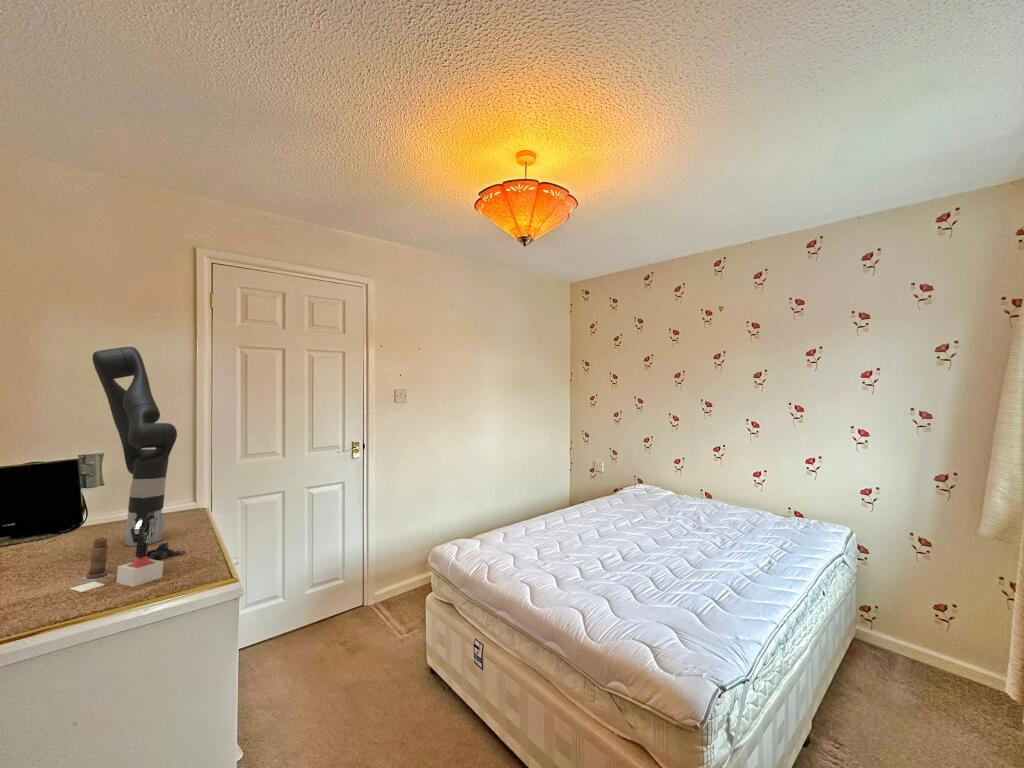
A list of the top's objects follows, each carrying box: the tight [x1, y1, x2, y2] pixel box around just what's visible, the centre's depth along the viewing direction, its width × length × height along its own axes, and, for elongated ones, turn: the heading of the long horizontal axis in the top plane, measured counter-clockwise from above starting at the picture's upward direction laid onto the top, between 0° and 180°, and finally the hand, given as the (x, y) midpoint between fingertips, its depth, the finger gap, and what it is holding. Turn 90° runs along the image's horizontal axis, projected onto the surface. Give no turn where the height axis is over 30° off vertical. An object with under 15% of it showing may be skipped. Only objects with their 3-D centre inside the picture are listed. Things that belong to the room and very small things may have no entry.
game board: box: [69, 572, 114, 593], centre depth 115 cm, size 14×20×1 cm
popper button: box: [131, 556, 151, 568], centre depth 117 cm, size 4×4×5 cm
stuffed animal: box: [146, 541, 187, 567], centre depth 133 cm, size 12×10×12 cm
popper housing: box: [116, 559, 164, 588], centre depth 117 cm, size 7×7×4 cm
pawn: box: [85, 536, 109, 580], centre depth 118 cm, size 4×4×11 cm
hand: (141, 556), depth 117 cm, fingers closed
